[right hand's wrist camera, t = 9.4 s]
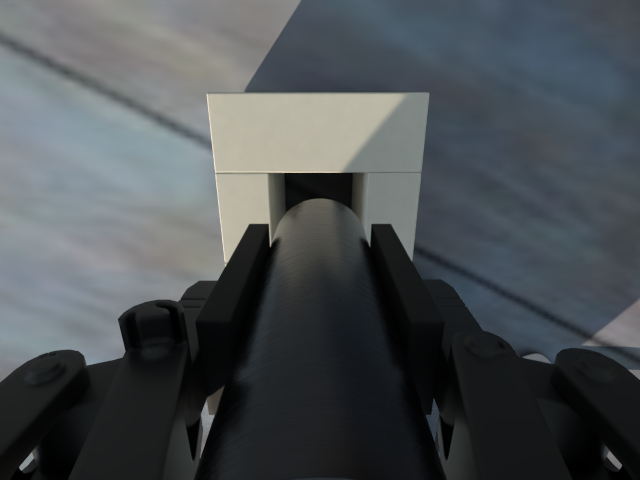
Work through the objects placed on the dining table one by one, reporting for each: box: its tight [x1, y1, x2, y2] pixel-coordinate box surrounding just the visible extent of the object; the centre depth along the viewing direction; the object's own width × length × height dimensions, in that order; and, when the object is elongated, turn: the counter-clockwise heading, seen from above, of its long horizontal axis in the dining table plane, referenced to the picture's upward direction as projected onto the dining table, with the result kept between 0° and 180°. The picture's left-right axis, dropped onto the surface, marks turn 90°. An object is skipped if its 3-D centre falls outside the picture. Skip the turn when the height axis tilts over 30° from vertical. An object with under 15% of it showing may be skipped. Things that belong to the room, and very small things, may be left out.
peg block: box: [207, 92, 430, 267], centre depth 25 cm, size 30×10×8 cm, turn 0°
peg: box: [194, 199, 447, 480], centre depth 10 cm, size 4×4×12 cm
